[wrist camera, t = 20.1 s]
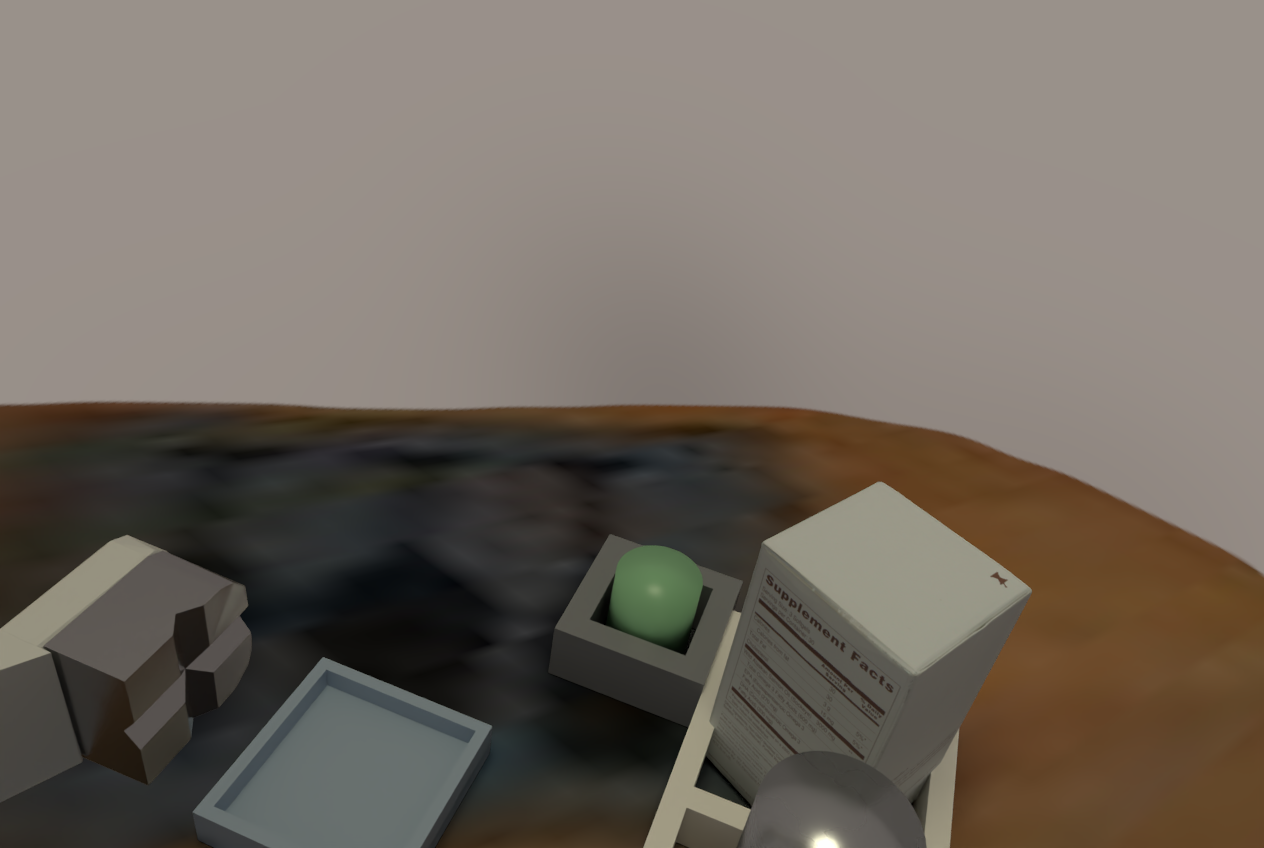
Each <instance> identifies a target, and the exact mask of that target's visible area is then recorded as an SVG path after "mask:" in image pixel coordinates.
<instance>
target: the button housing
mask: <svg viewBox="0 0 1264 848" xmlns="http://www.w3.org/2000/svg"><path fill="white" fill-rule="evenodd" d="M638 547H642V545H639V544H637V543H634V542H631V541H628V540H625V539H622V538H620V537H617V536H614V535H611V534H610V535H609V537H608V538H607V540H606V542H605V544H604V545H603V547H602V549H601V550H600V552H599V554H598V555H597V557H596V559H595V561H594V562H593V564H592V566H591V567H590V569H589V571H588V572H587V574H586V576H585V578H584V579H583V581H582V583H581V584H580V586H579V588H578V590H577V591H576V593H575V595H574V596H573V598H572V600H571V601H570V603H569V605H568V607H567V608H566V610H565V612H564V613H563V615H562V617H561V618H560V620H559V622H558V624H557V625H556V627H555V630H554V637H553V644H552V650H551V657H550V664H549V671H548V673H550V674H553V675H556V676H558V677H561V678H563V679H566V680H568V681H571V682H573V683H576V684H579V685H581V686H584V687H586V688H589V689H591V690H594V691H596V692H599V693H602V694H604V695H607V696H609V697H612V698H614V699H617V700H619V701H622V702H625V703H627V704H630V705H632V706H635V707H637V708H640V709H642V710H645V711H648V712H650V713H653V714H655V715H658V716H660V717H663V718H665V719H668V720H671V721H673V722H676V723H678V724H681V725H683V726H686V727H688V728H689V725H690V723H691V720H692V717H693V715H694V712H695V709H696V707H697V704H698V701H699V699H700V696H701V693H702V691H703V688H704V685H705V683H706V680H707V678H708V675H709V672H710V670H711V667H712V664H713V662H714V659H715V656H716V654H717V651H718V648H719V646H720V643H721V640H722V638H723V635H724V632H725V630H726V627H727V624H728V622H729V619H730V616H731V614H732V611H733V610H735V607H736V603H737V600H738V597H739V593H740V590H741V587H742V583H743V581H741V580H738V579H735V578H732V577H729V576H726V575H724V574H721V573H718V572H715V571H712V570H710V569H707V568H704V567H701V566H698V565H697V567H698V568H699V570H700V572H701V574H702V578H703V587H702V591H701V594H700V598H699V602H698V606H697V609H696V613H695V617H694V621H693V624H692V628H694V629H696V632H695V634H694V637H693V639H692V641H691V644H690V646H689V649H688V651H687V654H686V656H685V655H683V654H680V653H677V652H675V651H672V650H669V649H667V648H664V647H661V646H659V645H656V644H653V643H651V642H648V641H645V640H643V639H640V638H637V637H635V636H632V635H629V634H627V633H624V632H621V631H619V630H616V629H613V628H611V627H608V626H605V625H603V623H604V621H605V619H606V617H607V615H608V610H609V605H610V599H611V594H612V589H613V584H614V578H615V573H616V568H617V564H618V562H619V560H620V559H621V557H622V556H623V555H624V554H626V553H627V552H629V551H630V550H632V549H635V548H638Z"/></svg>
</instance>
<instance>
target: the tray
mask: <svg viewBox="0 0 1264 848" xmlns="http://www.w3.org/2000/svg"><path fill="white" fill-rule="evenodd" d="M491 735H492V726H491V725H488V724H486V723H483V722H481V721H478V720H476V719H474V718H471V717H469V716H466V715H464V714H461V713H459V712H456V711H454V710H451V709H449V708H447V707H444V706H442V705H439V704H437V703H434V702H432V701H429V700H427V699H425V698H422V697H420V696H417V695H415V694H412V693H410V692H407V691H405V690H402V689H400V688H398V687H395V686H393V685H390V684H388V683H385V682H383V681H380V680H378V679H375V678H373V677H371V676H368V675H366V674H363V673H361V672H358V671H356V670H353V669H351V668H349V667H346V666H344V665H341V664H339V663H336V662H334V661H331V660H329V659H326V658H324V657H323V658H322V659H321V660H320V661H319V663H318V664H317V665H316V666H315V667H314V669H313V670H312V671H311V672H310V673H309V674H308V676H307V677H306V678H305V679H304V680H303V682H302V683H301V684H300V685H299V686H298V688H297V689H296V690H295V691H294V692H293V693H292V695H291V696H290V697H289V698H288V699H287V701H286V702H285V703H284V704H283V705H282V707H281V708H280V709H279V710H278V711H277V712H276V714H275V715H274V716H273V717H272V718H271V720H270V721H269V722H268V723H267V724H266V726H265V727H264V728H263V729H262V730H261V731H260V733H259V734H258V735H257V736H256V737H255V739H254V740H253V741H252V742H251V743H250V745H249V746H248V747H247V748H246V749H245V750H244V752H243V753H242V754H241V755H240V756H239V758H238V759H237V760H236V761H235V762H234V764H233V765H232V766H231V767H230V768H229V769H228V771H227V772H226V773H225V774H224V775H223V777H222V778H221V779H220V780H219V781H218V783H217V784H216V785H215V786H214V787H213V788H212V790H211V791H210V792H209V793H208V794H207V796H206V797H205V798H204V799H203V800H202V802H201V803H200V804H199V805H198V806H197V807H196V809H195V810H194V811H193V812H192V813H193V818H194V823H195V828H196V833H197V838H198V840H199V841H201V842H203V843H205V844H207V845H210V846H212V847H214V848H435V847H436V845H437V843H438V841H439V840H440V838H441V836H442V834H443V833H444V831H445V829H446V828H447V826H448V824H449V822H450V821H451V819H452V817H453V815H454V814H455V812H456V810H457V809H458V807H459V805H460V803H461V802H462V800H463V798H464V796H465V795H466V793H467V791H468V790H469V788H470V786H471V784H472V783H473V781H474V779H475V777H476V776H477V774H478V772H479V771H480V769H481V767H482V765H483V764H484V762H485V760H486V758H487V757H488V755H489V753H490V745H491Z"/></svg>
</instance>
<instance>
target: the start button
mask: <svg viewBox="0 0 1264 848" xmlns="http://www.w3.org/2000/svg"><path fill="white" fill-rule="evenodd" d="M702 587H703V578H702V574H701V572H700V570H699V568H698V567H697V565H696V564H695V563H694V562H693V561H692V560H691V559H690V558H688V557H687V556H686V555H684V554H682V553H681V552H679V551H676V550H674V549H671V548H668V547H663V546H642V547H638V548H635V549H632V550H630V551H629V552H627V553H626V554H624V555H623V556H622V557H621V559H620V560H619V562H618V564H617V568H616V573H615V578H614V584H613V589H612V594H611V599H610V605H609V610H608V615H607V620H606V626H608V627H611V628H613V629H616V630H619V631H621V632H624V633H627V634H629V635H632V636H635V637H637V638H640V639H643V640H645V641H648V642H651V643H653V644H656V645H659V646H661V647H664V648H667V649H669V650H672V651H675V652H677V653H680V654H684V652H685V650H686V647H687V643H688V639H689V636H690V632H691V628H692V624H693V621H694V617H695V613H696V609H697V606H698V602H699V598H700V594H701V591H702Z"/></svg>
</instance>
